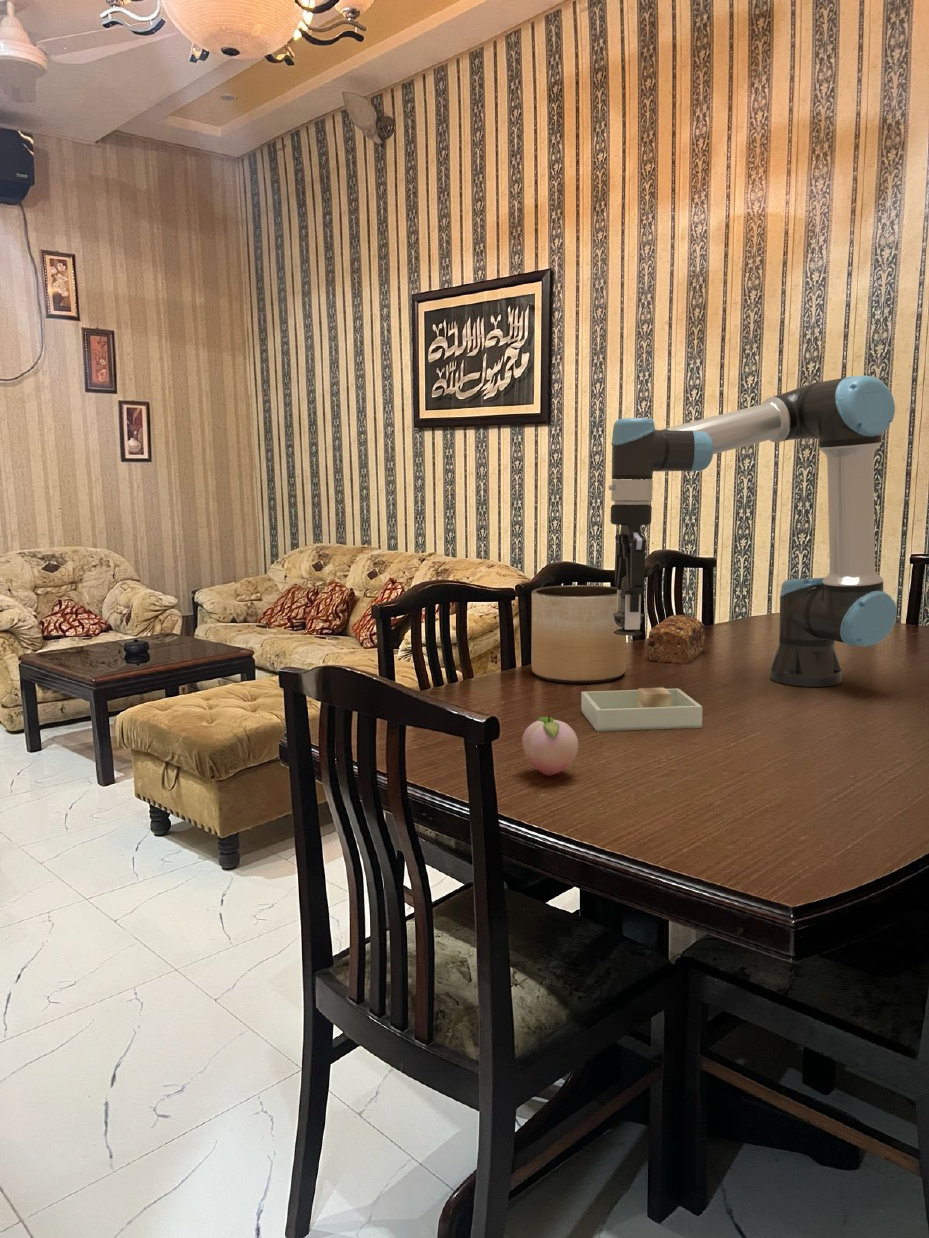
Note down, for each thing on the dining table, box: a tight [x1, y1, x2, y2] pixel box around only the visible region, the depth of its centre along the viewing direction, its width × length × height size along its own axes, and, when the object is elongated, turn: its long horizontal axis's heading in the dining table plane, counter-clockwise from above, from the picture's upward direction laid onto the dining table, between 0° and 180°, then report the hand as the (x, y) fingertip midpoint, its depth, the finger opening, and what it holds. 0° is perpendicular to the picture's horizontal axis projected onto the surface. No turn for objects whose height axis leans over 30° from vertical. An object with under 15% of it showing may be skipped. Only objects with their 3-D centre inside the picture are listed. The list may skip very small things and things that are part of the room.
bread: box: [647, 614, 706, 665], centre depth 230 cm, size 19×11×10 cm, turn 152°
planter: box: [530, 584, 627, 684], centre depth 210 cm, size 22×22×20 cm
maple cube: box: [637, 687, 671, 708], centre depth 172 cm, size 5×5×5 cm
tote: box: [580, 687, 703, 733], centre depth 172 cm, size 20×15×4 cm
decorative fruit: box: [521, 713, 579, 777], centre depth 140 cm, size 9×8×10 cm
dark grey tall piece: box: [613, 575, 645, 636], centre depth 170 cm, size 6×6×12 cm
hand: (628, 626), depth 170 cm, fingers closed on dark grey tall piece, 6 cm apart
